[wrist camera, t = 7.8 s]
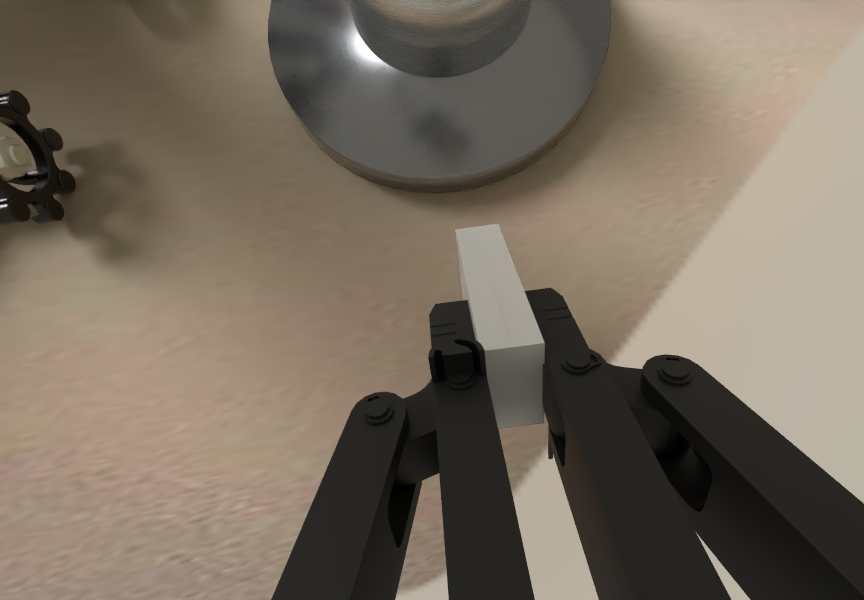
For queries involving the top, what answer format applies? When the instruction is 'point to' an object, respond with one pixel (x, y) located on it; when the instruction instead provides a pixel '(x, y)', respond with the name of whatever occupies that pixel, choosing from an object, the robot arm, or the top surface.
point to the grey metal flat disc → (437, 95)
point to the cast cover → (439, 32)
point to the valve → (12, 163)
